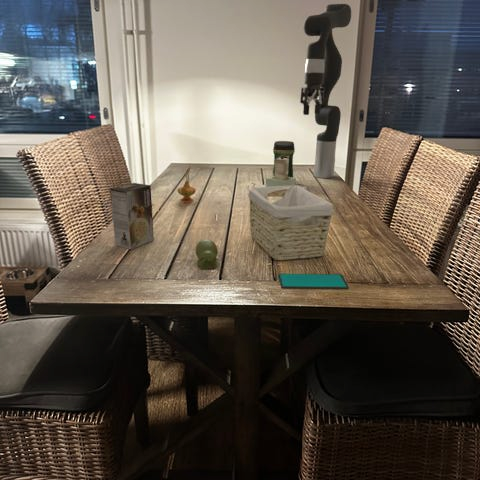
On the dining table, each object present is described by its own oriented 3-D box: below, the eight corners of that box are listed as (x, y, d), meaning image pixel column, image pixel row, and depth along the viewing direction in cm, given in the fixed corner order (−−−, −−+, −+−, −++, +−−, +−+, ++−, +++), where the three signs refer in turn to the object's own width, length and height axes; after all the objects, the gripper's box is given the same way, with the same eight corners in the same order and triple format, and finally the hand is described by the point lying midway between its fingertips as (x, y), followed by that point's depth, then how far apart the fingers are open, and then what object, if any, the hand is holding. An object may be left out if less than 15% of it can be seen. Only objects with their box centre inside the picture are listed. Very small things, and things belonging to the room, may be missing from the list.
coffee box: (138, 236, 128) (134, 182, 123) (154, 240, 125) (151, 185, 120) (114, 245, 121) (109, 188, 116) (131, 250, 118) (127, 191, 112)
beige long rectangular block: (279, 185, 189) (281, 154, 184) (287, 187, 186) (289, 155, 182) (273, 187, 186) (275, 155, 181) (281, 189, 183) (283, 156, 179)
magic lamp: (173, 207, 158) (172, 177, 154) (180, 195, 175) (179, 167, 171) (192, 207, 158) (192, 177, 154) (197, 195, 175) (197, 168, 171)
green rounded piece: (216, 235, 114) (220, 255, 105) (216, 253, 116) (219, 274, 107) (194, 236, 113) (196, 256, 104) (194, 253, 115) (196, 275, 107)
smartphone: (349, 287, 98) (281, 286, 97) (348, 291, 98) (281, 290, 98) (341, 274, 105) (278, 273, 104) (341, 277, 105) (278, 276, 105)
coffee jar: (293, 181, 204) (295, 140, 198) (292, 184, 197) (295, 142, 190) (272, 180, 205) (274, 139, 199) (271, 183, 198) (272, 141, 192)
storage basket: (245, 234, 132) (246, 186, 127) (295, 230, 136) (298, 183, 131) (272, 264, 111) (275, 208, 106) (331, 259, 115) (336, 204, 110)
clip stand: (276, 184, 197) (276, 172, 195) (306, 190, 187) (307, 178, 185) (253, 190, 185) (254, 178, 184) (285, 196, 176) (285, 184, 174)
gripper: (315, 72, 182) (313, 112, 187) (296, 71, 172) (294, 114, 177) (331, 72, 177) (328, 114, 183) (313, 71, 167) (310, 115, 173)
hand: (311, 114), depth 180 cm, fingers open, 8 cm apart
